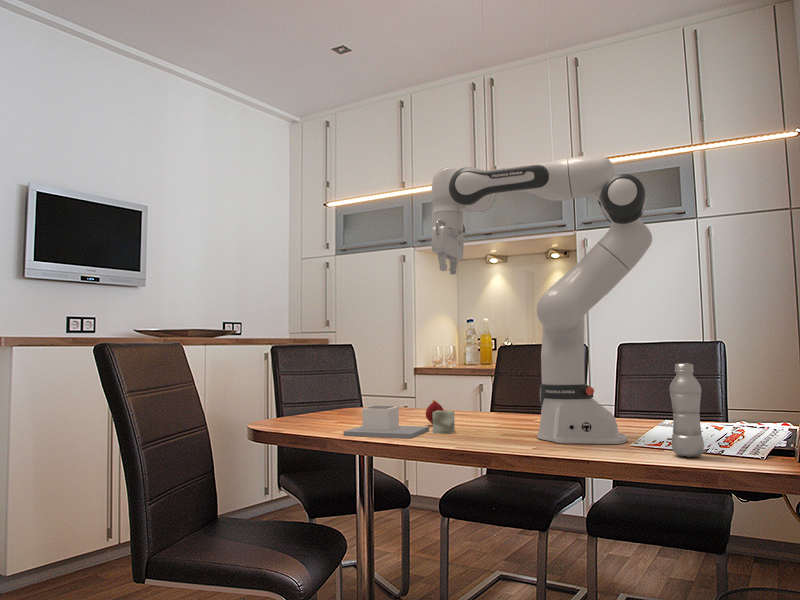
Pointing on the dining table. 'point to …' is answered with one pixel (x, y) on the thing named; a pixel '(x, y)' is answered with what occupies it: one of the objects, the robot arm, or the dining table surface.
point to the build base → (389, 434)
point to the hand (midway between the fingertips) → (448, 272)
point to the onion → (433, 410)
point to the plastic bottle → (686, 412)
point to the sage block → (443, 422)
